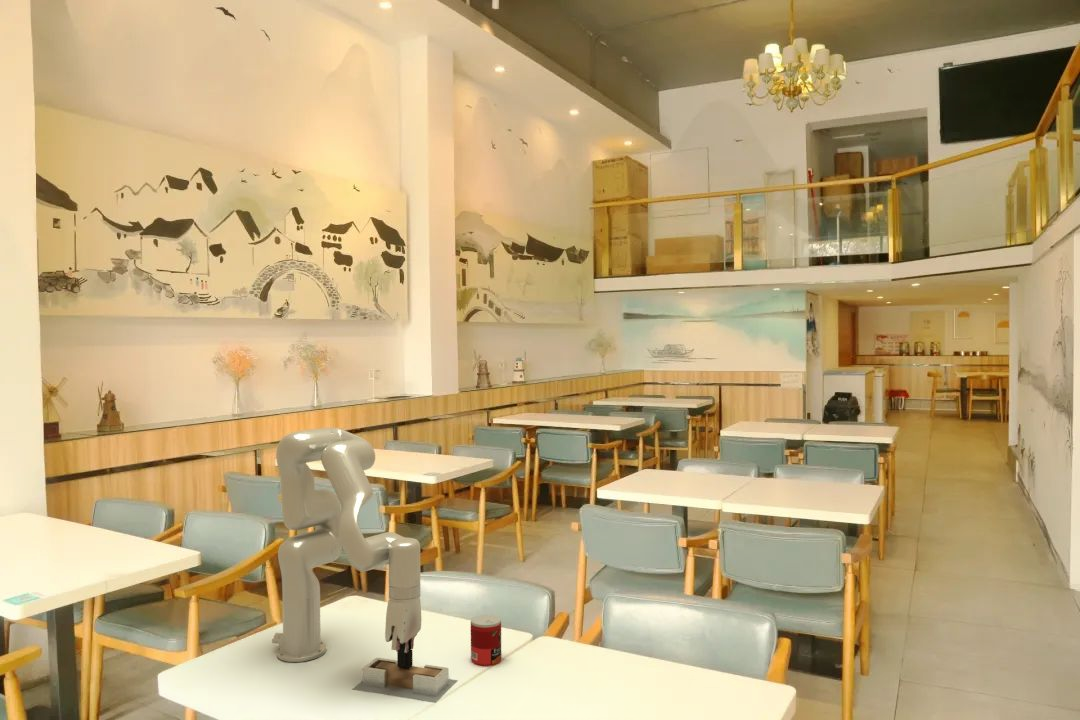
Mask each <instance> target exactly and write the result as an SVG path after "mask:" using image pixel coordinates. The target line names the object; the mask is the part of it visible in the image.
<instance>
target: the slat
mask: <svg viewBox="0 0 1080 720" xmlns="http://www.w3.org/2000/svg"><path fill="white" fill-rule="evenodd" d="M375 668H377V669H383V670H387V685H388V686H395V687H401V688H407V689H413V676H414V675H415V674H417V675H423V676H430V677H435V676H436V675H437V674H438V673H439V672H440V671H441V670H436V669H429V668H424V667H421V666H414V665H412V666H411V667H410V668H409V669H405V668H399V667H398V666H397V664H395V663H388V662H381V663H379V664H378V665H377V666H375Z"/></svg>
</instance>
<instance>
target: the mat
mask: <svg viewBox="0 0 1080 720" xmlns="http://www.w3.org/2000/svg"><path fill="white" fill-rule="evenodd" d="M457 682H458V679H452V678H449V685H448V686H447V687H446V688H444V689H443V690H442V691H441V692H440V693H439V694H438V695H437V696H436V697H435V696H429V695H423V694H416V693H413V689H407V688H401V687H395V686H388V685H387V687H386V688H379V687H372V686H366V685H362V681H360V682H359V683H357V685H355V686H354V687H353V688H352V690H354V691H360V692H367V693H373V694H378V695H379V694H380V695H384V696H385V695H386V696H390V697H391V696H392V697H398V698H402V699H403V698H404V699H409V700H416V701H420V702H428V703H434V704H436V703H437V702H439V700H440V699H441V698H442V697H443V696H445V694H446V693H447V692H448V691H449V690H450V689H451V688H452V687H453V686H455V684H456V683H457Z"/></svg>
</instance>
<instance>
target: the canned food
mask: <svg viewBox="0 0 1080 720" xmlns="http://www.w3.org/2000/svg"><path fill="white" fill-rule="evenodd" d="M470 660H471V663H472V664H473V665H476V666H479V667H491V666H495V665H498V664H499V663H501V661H502V619H501V617H499V616H497V615H495V614H479V615H475V616H473V617H472V618H471V619H470Z"/></svg>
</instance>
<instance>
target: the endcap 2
mask: <svg viewBox="0 0 1080 720" xmlns="http://www.w3.org/2000/svg"><path fill="white" fill-rule="evenodd" d="M423 668H429V669H436V670H441V671H440V672H439V673H438V674H437V675H436V676H435V677H430V676H423V675H417V674H415V675H414V676H413V693H416V694H423V695H429V696H435V697H436V696H437V695H438V694H439V693H440V692H441V691H442V690H443V689H444V688H446V687H447V686H448V685H449V679H450V678H449V667H444V666H440V665H439V666H437V665H432V664H425V665H424V666H423Z"/></svg>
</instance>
